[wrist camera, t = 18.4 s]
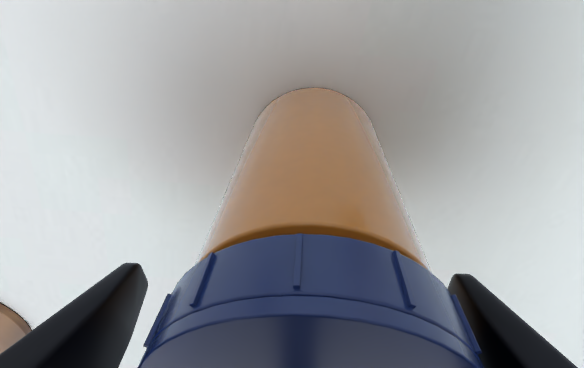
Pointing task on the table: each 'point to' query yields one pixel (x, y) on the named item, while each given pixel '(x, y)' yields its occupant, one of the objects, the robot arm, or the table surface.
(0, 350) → the coaster
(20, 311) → the table surface
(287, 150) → the jar
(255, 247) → the jar lid
